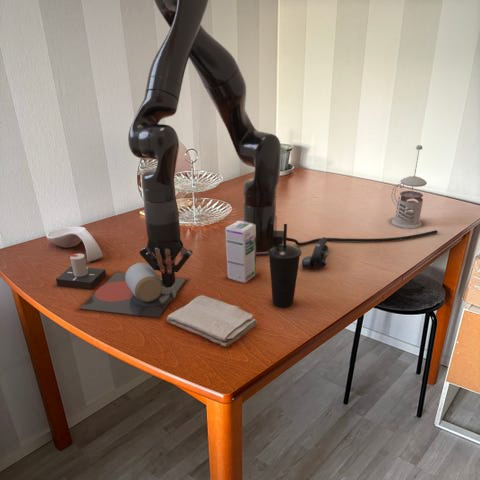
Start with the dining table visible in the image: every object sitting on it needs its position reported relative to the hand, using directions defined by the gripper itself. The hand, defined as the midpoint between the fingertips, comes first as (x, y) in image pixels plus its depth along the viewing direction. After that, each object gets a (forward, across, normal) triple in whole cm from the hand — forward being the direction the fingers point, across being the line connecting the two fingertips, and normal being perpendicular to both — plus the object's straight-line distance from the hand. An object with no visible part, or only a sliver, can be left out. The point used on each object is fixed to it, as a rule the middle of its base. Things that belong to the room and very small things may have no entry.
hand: (169, 285), depth 120 cm
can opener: (+4, +34, +30) cm, 45 cm away
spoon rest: (+3, -38, +24) cm, 45 cm away
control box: (+3, -26, +4) cm, 27 cm away
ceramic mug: (+3, -5, 0) cm, 6 cm away
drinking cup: (+4, +28, +3) cm, 28 cm away
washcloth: (+4, +13, -10) cm, 17 cm away
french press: (+4, +59, +66) cm, 88 cm away
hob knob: (+1, -26, +4) cm, 27 cm away
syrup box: (+4, +15, +15) cm, 21 cm away
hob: (+3, -10, 0) cm, 10 cm away
